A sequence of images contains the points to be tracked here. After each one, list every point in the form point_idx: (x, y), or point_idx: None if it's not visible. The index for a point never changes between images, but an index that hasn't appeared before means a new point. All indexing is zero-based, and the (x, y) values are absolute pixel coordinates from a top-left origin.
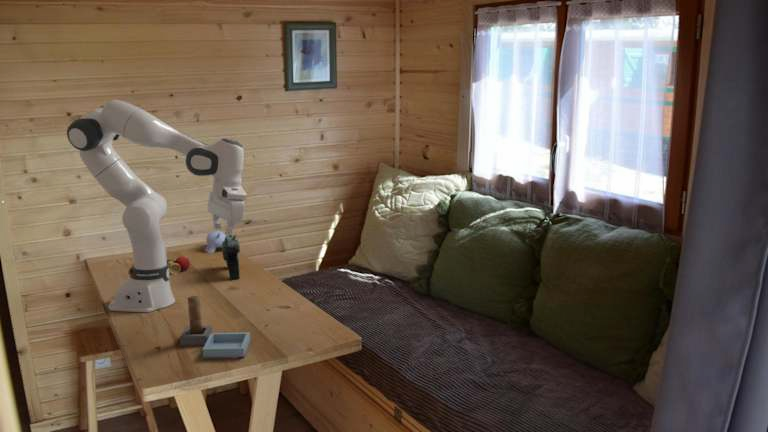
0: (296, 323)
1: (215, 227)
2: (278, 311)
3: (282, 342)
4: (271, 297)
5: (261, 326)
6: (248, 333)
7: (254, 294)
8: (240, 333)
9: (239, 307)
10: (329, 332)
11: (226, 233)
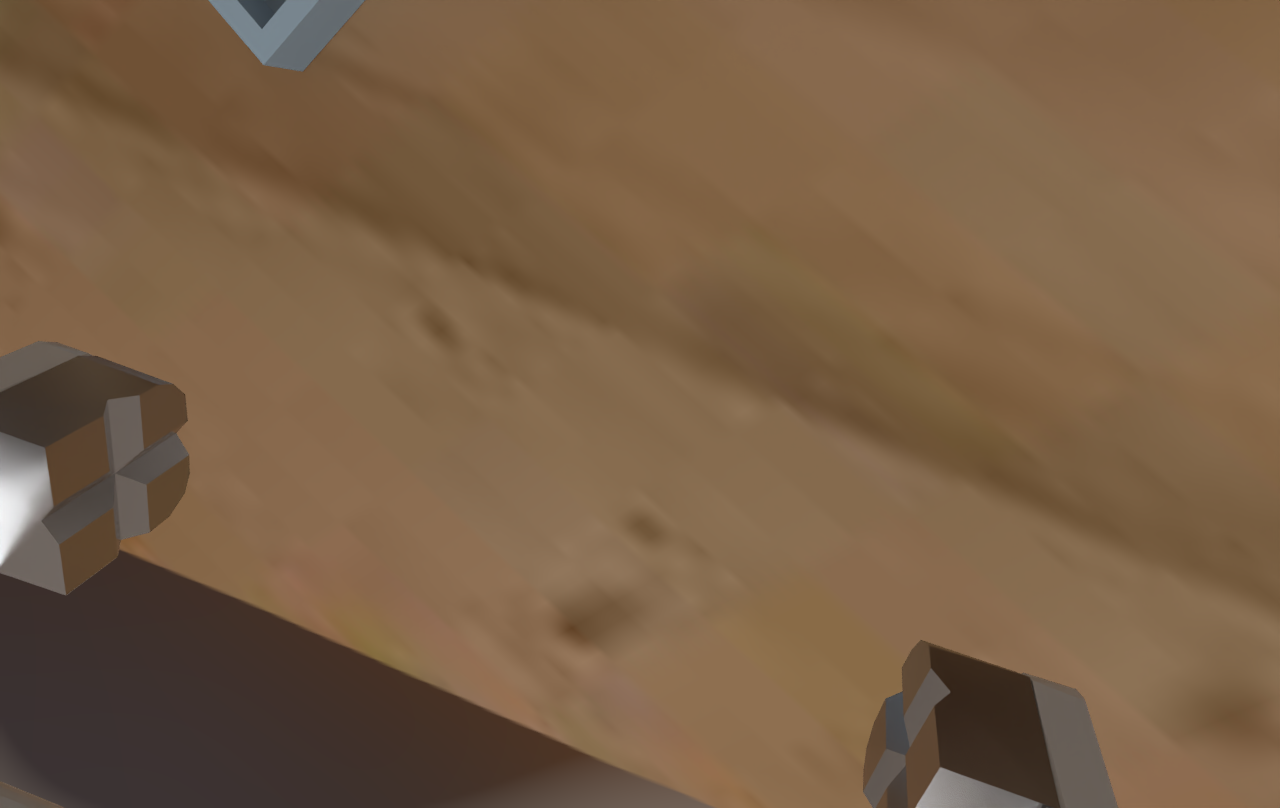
0: (328, 456)
1: (920, 662)
2: (567, 542)
3: (159, 192)
4: (805, 705)
5: (449, 294)
6: (254, 43)
7: None
8: (291, 1)
9: (853, 455)
10: None
11: (46, 350)
